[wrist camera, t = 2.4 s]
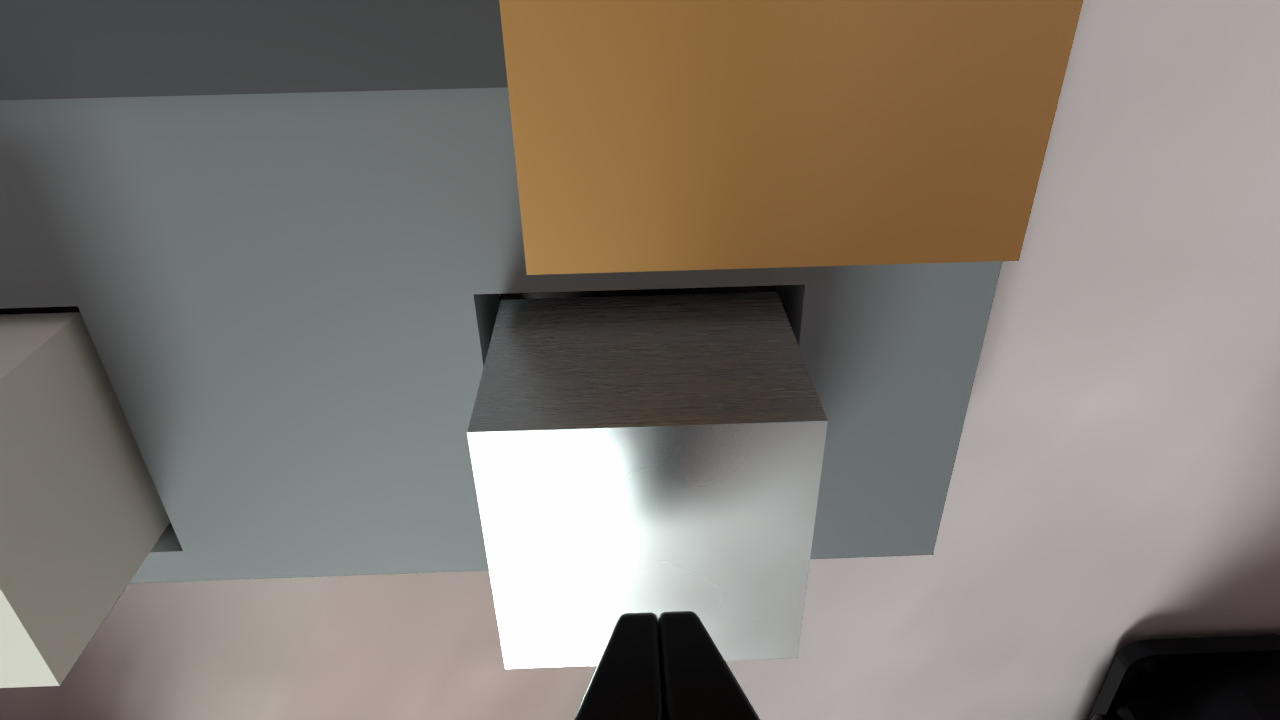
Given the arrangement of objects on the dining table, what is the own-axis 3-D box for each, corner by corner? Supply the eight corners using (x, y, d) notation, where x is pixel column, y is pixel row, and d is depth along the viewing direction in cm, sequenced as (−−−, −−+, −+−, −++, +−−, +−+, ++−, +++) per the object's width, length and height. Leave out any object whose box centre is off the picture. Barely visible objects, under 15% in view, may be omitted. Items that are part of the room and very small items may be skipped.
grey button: (777, 291, 12) (827, 421, 9) (760, 500, 14) (797, 658, 11) (500, 299, 12) (467, 432, 9) (526, 509, 14) (505, 668, 11)
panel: (1050, -313, 9) (1158, -356, 8) (897, 480, 16) (936, 563, 14) (-703, -283, 9) (-1043, -322, 7) (-144, 515, 15) (-249, 605, 13)
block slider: (934, -164, 8) (1128, -184, 5) (891, 138, 10) (1019, 260, 7) (530, -157, 8) (481, -171, 5) (553, 146, 9) (527, 275, 6)
